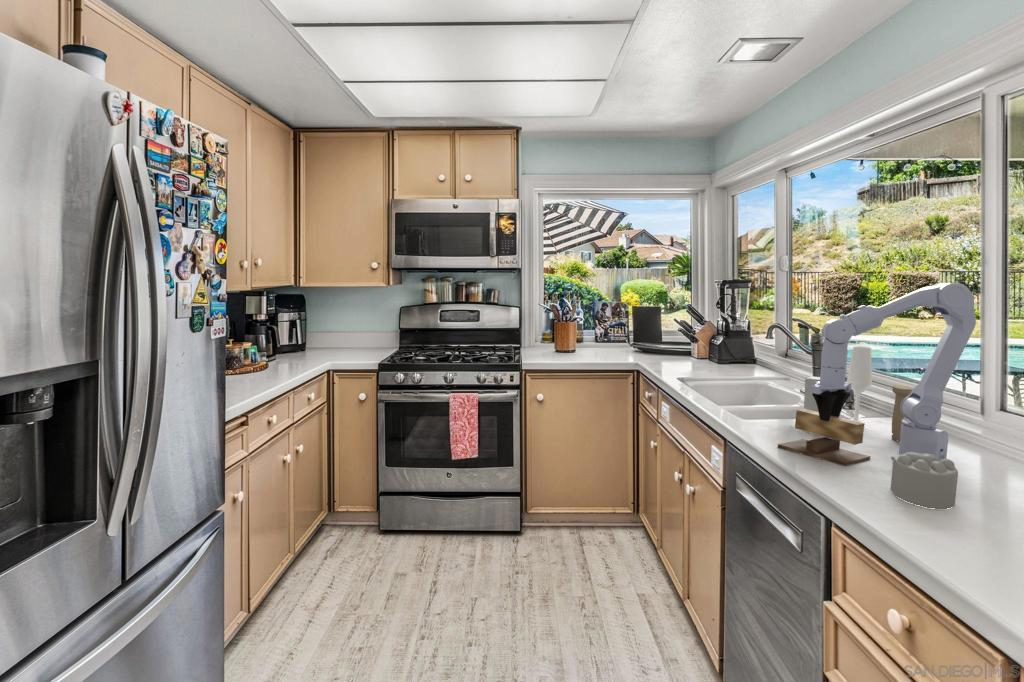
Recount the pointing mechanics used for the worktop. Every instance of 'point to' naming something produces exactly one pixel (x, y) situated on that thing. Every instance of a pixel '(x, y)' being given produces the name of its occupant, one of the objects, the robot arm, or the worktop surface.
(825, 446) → the walnut board
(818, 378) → the skincare box
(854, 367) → the champagne flute
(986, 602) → the worktop surface
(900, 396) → the handle
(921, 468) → the lumpy-topped squat cylinder
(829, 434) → the oak bar
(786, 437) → the worktop surface
